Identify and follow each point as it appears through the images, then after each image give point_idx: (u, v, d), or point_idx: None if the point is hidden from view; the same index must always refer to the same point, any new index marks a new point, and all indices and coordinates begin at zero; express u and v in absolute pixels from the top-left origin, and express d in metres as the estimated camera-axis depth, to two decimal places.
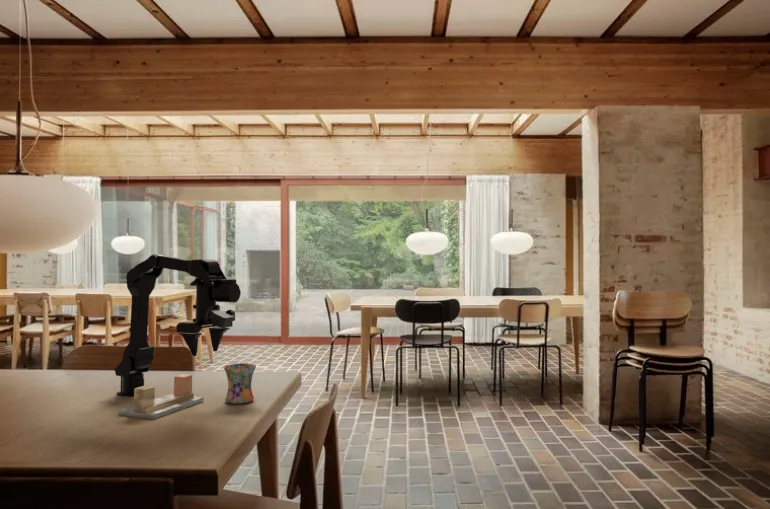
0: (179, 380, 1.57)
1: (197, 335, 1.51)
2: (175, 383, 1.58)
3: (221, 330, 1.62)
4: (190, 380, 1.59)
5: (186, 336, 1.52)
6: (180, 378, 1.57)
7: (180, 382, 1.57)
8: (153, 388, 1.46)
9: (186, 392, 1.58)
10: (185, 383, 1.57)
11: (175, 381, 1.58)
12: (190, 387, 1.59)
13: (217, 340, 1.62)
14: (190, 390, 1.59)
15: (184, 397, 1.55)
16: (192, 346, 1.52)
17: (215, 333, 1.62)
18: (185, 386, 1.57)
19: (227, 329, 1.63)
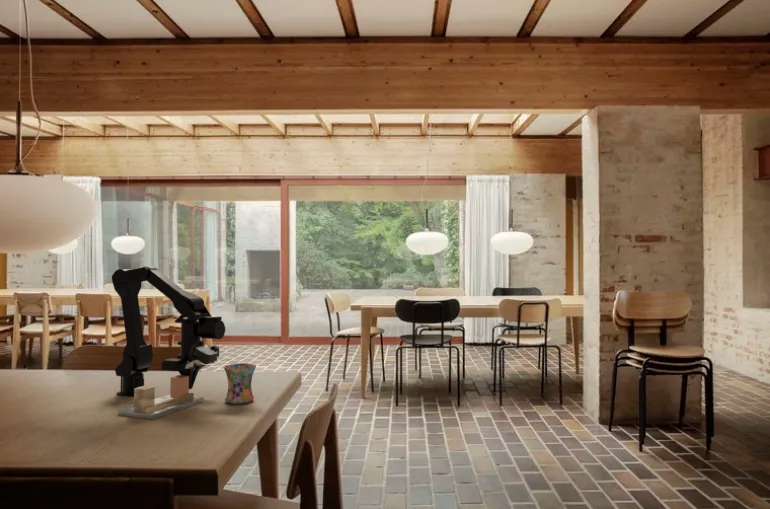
0: (176, 381, 1.56)
1: (192, 369, 1.59)
2: (171, 384, 1.56)
3: (196, 367, 1.62)
4: (187, 381, 1.58)
5: (181, 370, 1.60)
6: (176, 379, 1.56)
7: (176, 383, 1.56)
8: (153, 388, 1.46)
9: (183, 393, 1.56)
10: (182, 384, 1.56)
11: (171, 382, 1.56)
12: (187, 388, 1.58)
13: None
14: (187, 391, 1.58)
15: (184, 397, 1.55)
16: None
17: None
18: (182, 387, 1.56)
19: (202, 366, 1.63)
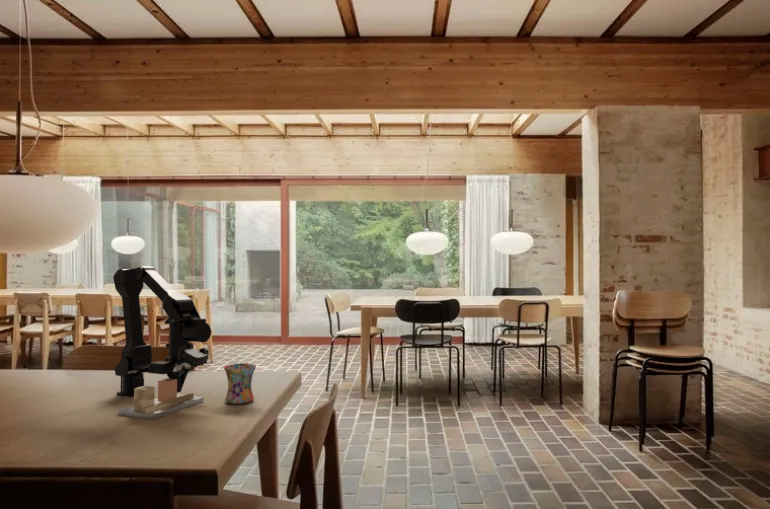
0: (163, 385, 1.51)
1: (180, 372, 1.54)
2: (159, 388, 1.52)
3: (185, 370, 1.57)
4: (175, 385, 1.54)
5: (170, 373, 1.56)
6: (164, 383, 1.51)
7: (164, 387, 1.51)
8: (153, 388, 1.46)
9: (170, 397, 1.52)
10: (170, 388, 1.51)
11: (159, 386, 1.52)
12: (175, 392, 1.53)
13: (181, 381, 1.57)
14: (175, 395, 1.53)
15: (184, 397, 1.55)
16: None
17: None
18: (170, 390, 1.51)
19: (191, 369, 1.58)
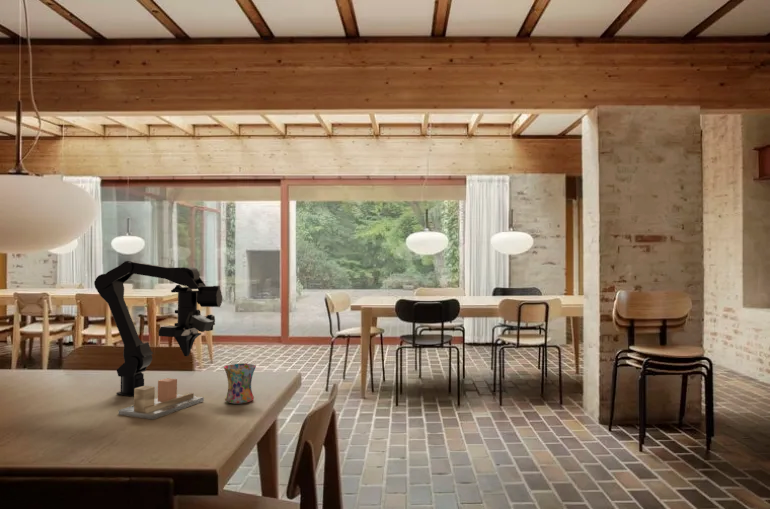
0: (163, 385, 1.51)
1: (188, 337, 1.64)
2: (159, 388, 1.52)
3: (193, 335, 1.67)
4: (175, 385, 1.53)
5: (178, 338, 1.66)
6: (164, 383, 1.51)
7: (164, 387, 1.51)
8: (153, 388, 1.46)
9: (170, 397, 1.52)
10: (169, 388, 1.51)
11: (159, 386, 1.52)
12: (175, 392, 1.53)
13: (189, 345, 1.67)
14: (175, 395, 1.53)
15: (184, 397, 1.55)
16: (184, 347, 1.66)
17: None
18: (170, 391, 1.51)
19: (199, 334, 1.69)
